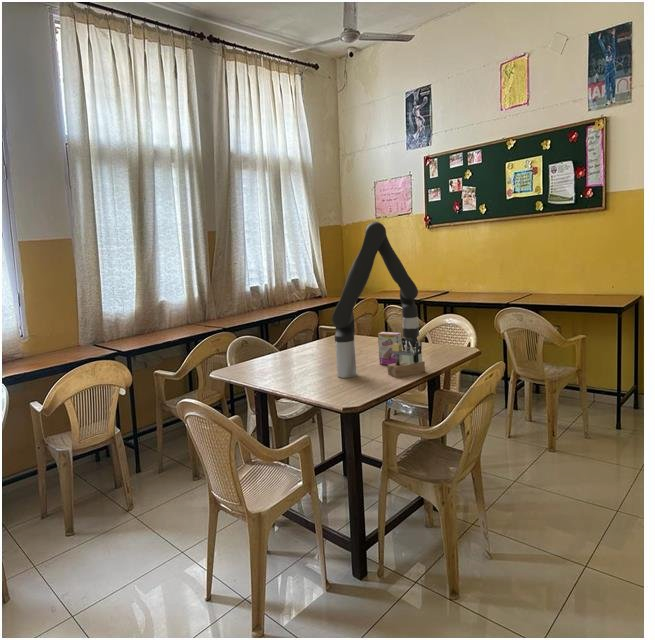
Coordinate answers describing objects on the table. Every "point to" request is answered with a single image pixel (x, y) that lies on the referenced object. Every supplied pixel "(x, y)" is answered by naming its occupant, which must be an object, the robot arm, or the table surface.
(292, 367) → the table surface
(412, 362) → the pale green block
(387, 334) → the candy bar box
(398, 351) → the key
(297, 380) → the table surface
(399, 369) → the case
